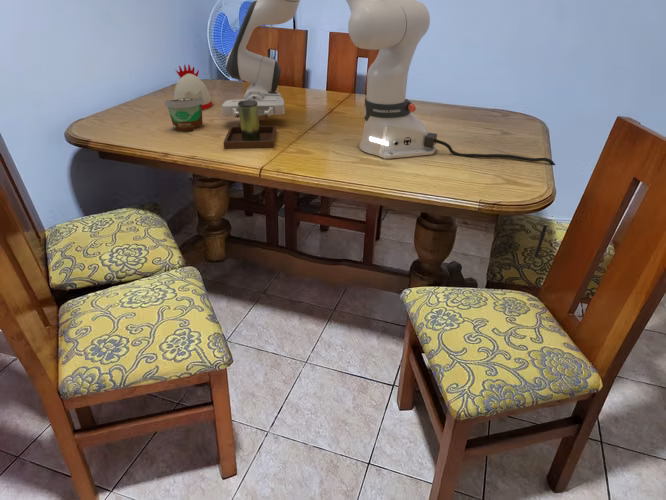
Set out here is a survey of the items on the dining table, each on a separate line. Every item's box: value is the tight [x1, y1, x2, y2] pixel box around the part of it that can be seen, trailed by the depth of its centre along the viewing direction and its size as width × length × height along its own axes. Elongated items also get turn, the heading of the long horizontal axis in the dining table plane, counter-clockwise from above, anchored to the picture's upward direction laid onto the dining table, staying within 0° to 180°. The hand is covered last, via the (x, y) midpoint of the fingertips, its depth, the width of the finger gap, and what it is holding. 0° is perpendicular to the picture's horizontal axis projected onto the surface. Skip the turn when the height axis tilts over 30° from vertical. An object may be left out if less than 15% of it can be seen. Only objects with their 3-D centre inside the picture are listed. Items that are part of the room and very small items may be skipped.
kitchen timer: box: [173, 63, 213, 111], centre depth 172 cm, size 14×14×15 cm
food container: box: [164, 96, 204, 133], centre depth 150 cm, size 12×6×10 cm, turn 105°
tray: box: [223, 125, 277, 150], centre depth 143 cm, size 15×15×2 cm
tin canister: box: [238, 100, 261, 141], centre depth 140 cm, size 6×6×11 cm
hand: (251, 114), depth 145 cm, fingers open, 8 cm apart
